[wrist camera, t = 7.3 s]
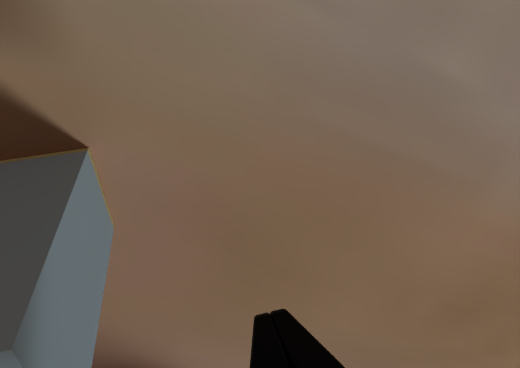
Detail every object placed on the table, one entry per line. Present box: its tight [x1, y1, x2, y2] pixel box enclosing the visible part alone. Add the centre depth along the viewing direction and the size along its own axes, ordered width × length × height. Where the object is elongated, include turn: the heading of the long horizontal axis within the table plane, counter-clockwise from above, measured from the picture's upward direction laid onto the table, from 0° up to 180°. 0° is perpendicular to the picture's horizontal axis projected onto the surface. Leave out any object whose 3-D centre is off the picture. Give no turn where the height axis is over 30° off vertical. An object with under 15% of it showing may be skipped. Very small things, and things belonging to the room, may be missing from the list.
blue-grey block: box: [0, 148, 114, 368], centre depth 11 cm, size 4×4×10 cm
